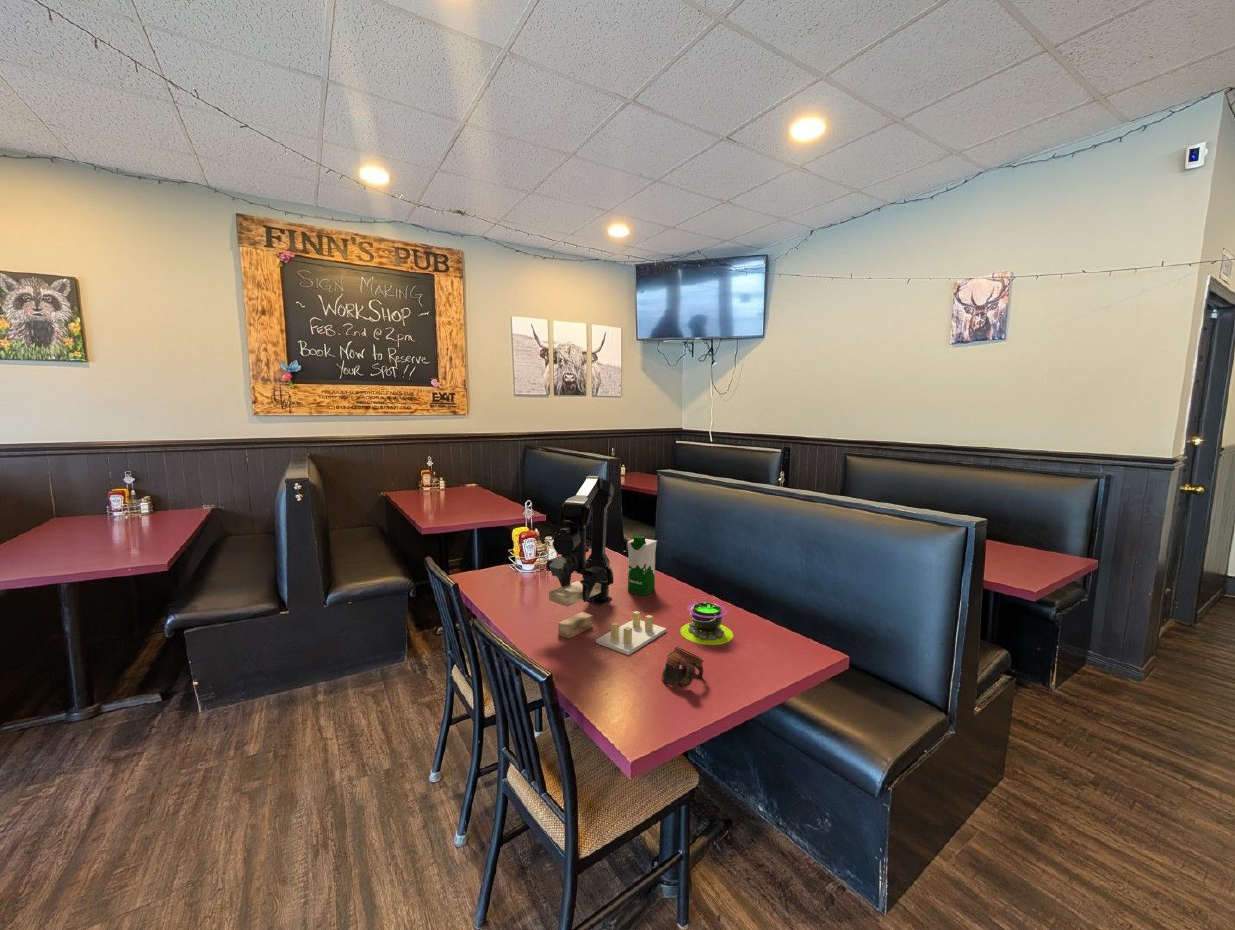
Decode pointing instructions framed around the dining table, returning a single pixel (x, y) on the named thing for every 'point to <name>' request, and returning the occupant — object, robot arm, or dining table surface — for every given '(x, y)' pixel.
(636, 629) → the peg frame
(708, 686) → the dining table surface
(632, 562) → the milk carton
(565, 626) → the block
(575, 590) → the board
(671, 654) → the pottery mug
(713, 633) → the toy cauldron
